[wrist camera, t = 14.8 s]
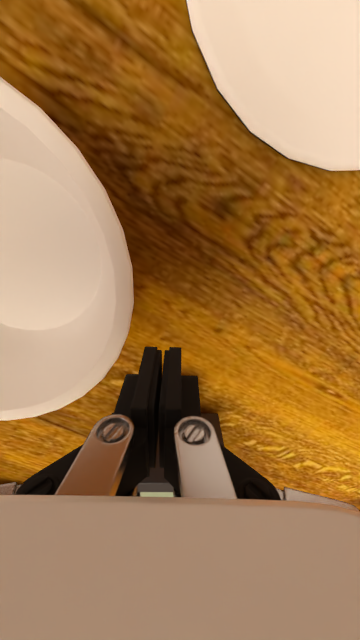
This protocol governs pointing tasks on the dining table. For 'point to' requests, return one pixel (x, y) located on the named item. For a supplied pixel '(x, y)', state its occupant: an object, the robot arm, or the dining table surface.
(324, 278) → the dining table surface
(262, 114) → the plate
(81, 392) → the bowl
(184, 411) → the robot arm
